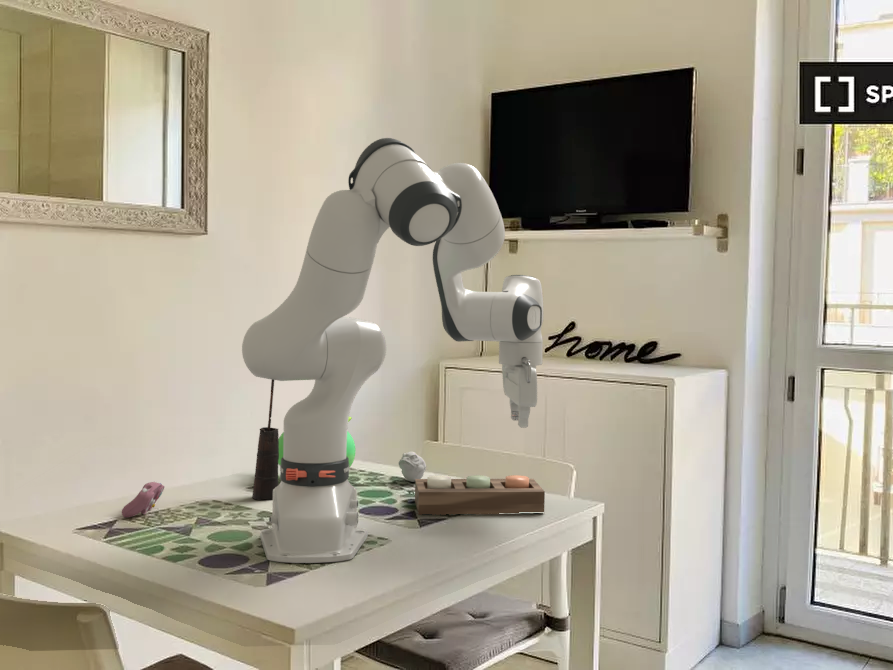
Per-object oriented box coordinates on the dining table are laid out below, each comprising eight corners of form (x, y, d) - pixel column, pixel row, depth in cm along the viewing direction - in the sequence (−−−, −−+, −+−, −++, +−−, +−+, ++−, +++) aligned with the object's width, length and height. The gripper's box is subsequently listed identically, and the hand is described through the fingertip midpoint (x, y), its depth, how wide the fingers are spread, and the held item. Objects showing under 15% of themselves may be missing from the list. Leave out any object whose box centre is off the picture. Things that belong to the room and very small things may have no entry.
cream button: (452, 492, 180) (452, 480, 180) (428, 492, 180) (428, 480, 180) (449, 487, 185) (449, 475, 185) (426, 487, 184) (426, 475, 184)
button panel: (544, 514, 179) (544, 491, 178) (418, 514, 176) (418, 492, 176) (532, 499, 190) (533, 478, 190) (414, 500, 188) (415, 479, 188)
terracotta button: (530, 492, 182) (531, 480, 182) (507, 492, 181) (507, 480, 181) (526, 487, 186) (526, 475, 186) (503, 487, 186) (503, 475, 186)
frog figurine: (392, 482, 205) (392, 452, 205) (411, 477, 211) (411, 447, 210) (413, 486, 201) (413, 455, 201) (432, 481, 207) (432, 451, 207)
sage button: (491, 492, 181) (491, 480, 181) (467, 492, 180) (468, 480, 180) (488, 487, 186) (488, 475, 186) (465, 487, 185) (465, 475, 185)
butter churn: (260, 506, 180) (261, 367, 179) (230, 499, 186) (231, 364, 185) (295, 498, 188) (296, 365, 186) (265, 491, 194) (266, 362, 192)
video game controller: (139, 526, 170) (156, 494, 170) (118, 515, 170) (135, 483, 170) (156, 513, 180) (171, 482, 180) (135, 503, 180) (151, 472, 179)
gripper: (546, 360, 172) (544, 431, 173) (527, 352, 192) (525, 416, 193) (513, 359, 171) (511, 431, 172) (498, 351, 192) (496, 416, 193)
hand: (519, 423), depth 183 cm, fingers open, 8 cm apart
